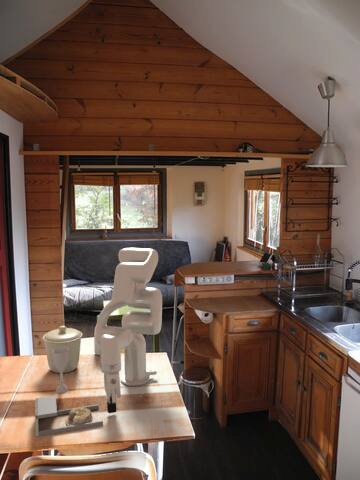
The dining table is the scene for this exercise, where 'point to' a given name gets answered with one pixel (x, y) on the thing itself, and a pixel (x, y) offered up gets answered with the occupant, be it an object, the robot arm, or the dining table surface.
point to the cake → (79, 416)
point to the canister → (63, 339)
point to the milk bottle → (96, 345)
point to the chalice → (61, 365)
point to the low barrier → (49, 408)
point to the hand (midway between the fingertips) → (111, 411)
